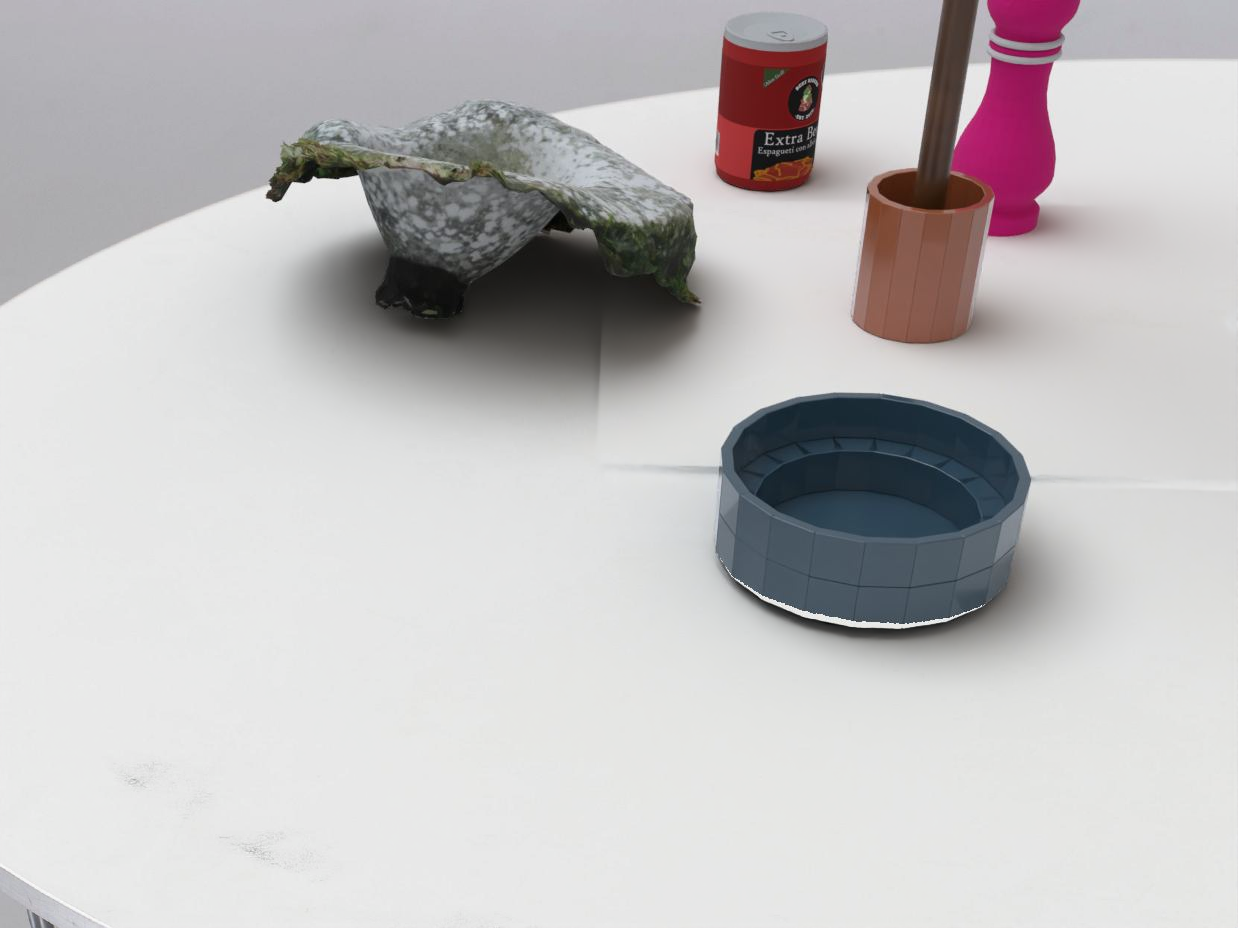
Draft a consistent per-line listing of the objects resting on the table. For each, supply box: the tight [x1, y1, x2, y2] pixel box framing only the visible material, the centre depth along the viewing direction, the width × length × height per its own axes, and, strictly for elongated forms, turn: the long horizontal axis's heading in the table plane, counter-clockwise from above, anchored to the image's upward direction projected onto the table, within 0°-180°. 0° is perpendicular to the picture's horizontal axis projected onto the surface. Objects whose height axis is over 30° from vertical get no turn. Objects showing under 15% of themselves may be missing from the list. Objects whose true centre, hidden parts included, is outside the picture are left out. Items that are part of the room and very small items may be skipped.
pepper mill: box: [951, 0, 1081, 238], centre depth 114 cm, size 7×7×20 cm
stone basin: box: [265, 98, 703, 320], centre depth 107 cm, size 29×30×15 cm
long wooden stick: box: [912, 0, 980, 210], centre depth 100 cm, size 2×4×24 cm, turn 176°
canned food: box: [714, 11, 829, 192], centre depth 125 cm, size 8×8×11 cm
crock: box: [850, 167, 995, 345], centre depth 105 cm, size 8×8×9 cm
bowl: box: [713, 391, 1032, 624], centre depth 85 cm, size 15×15×6 cm
